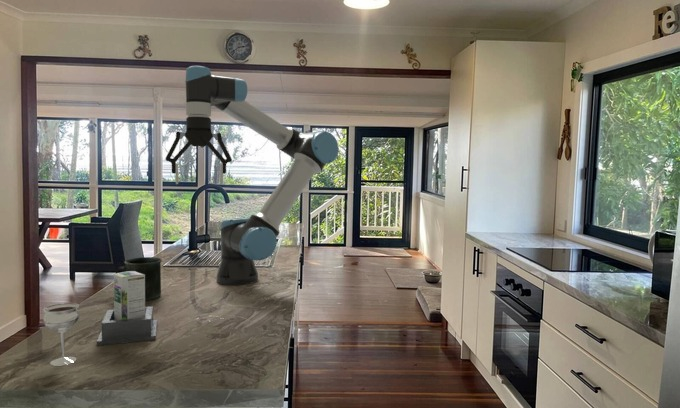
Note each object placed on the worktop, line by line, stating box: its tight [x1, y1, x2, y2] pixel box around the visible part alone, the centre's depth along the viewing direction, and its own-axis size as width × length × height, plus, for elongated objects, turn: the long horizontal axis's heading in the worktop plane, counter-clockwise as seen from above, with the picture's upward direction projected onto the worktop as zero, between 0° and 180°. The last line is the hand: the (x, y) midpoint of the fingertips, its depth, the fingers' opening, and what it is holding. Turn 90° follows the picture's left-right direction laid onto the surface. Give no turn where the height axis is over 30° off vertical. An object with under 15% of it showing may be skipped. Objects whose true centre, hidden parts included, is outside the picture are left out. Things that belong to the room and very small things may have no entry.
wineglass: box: [43, 302, 80, 367], centre depth 103 cm, size 7×7×12 cm
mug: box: [115, 256, 163, 301], centre depth 153 cm, size 11×15×12 cm
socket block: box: [96, 305, 158, 346], centre depth 121 cm, size 13×13×5 cm
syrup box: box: [113, 271, 146, 320], centre depth 120 cm, size 6×6×14 cm
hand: (199, 184), depth 152 cm, fingers open, 13 cm apart
